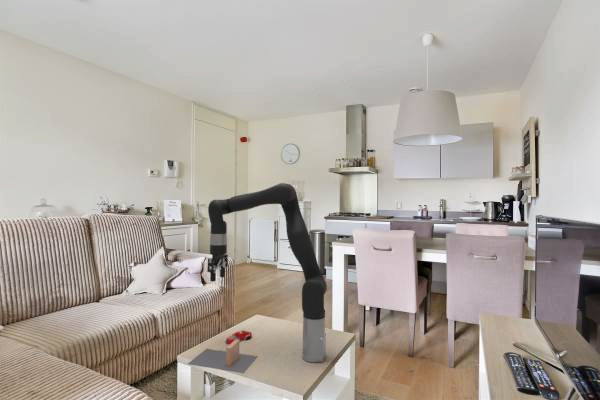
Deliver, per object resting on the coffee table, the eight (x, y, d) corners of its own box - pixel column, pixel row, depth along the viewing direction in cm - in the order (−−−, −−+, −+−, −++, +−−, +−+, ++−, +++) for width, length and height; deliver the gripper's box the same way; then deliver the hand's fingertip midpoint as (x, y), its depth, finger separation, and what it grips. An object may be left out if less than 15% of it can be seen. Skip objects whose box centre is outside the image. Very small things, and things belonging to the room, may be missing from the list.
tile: (239, 357, 134) (239, 340, 134) (230, 366, 127) (230, 348, 127) (234, 356, 135) (235, 339, 135) (225, 365, 127) (225, 347, 127)
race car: (229, 347, 145) (230, 338, 145) (223, 343, 149) (223, 335, 149) (253, 339, 155) (253, 330, 155) (246, 335, 158) (246, 327, 158)
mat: (258, 357, 135) (258, 356, 135) (243, 374, 122) (243, 373, 122) (206, 350, 142) (206, 348, 142) (187, 365, 128) (187, 363, 128)
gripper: (218, 245, 141) (217, 283, 141) (233, 242, 154) (232, 276, 154) (202, 244, 143) (201, 282, 142) (218, 241, 156) (218, 275, 156)
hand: (217, 279), depth 148 cm, fingers open, 8 cm apart
